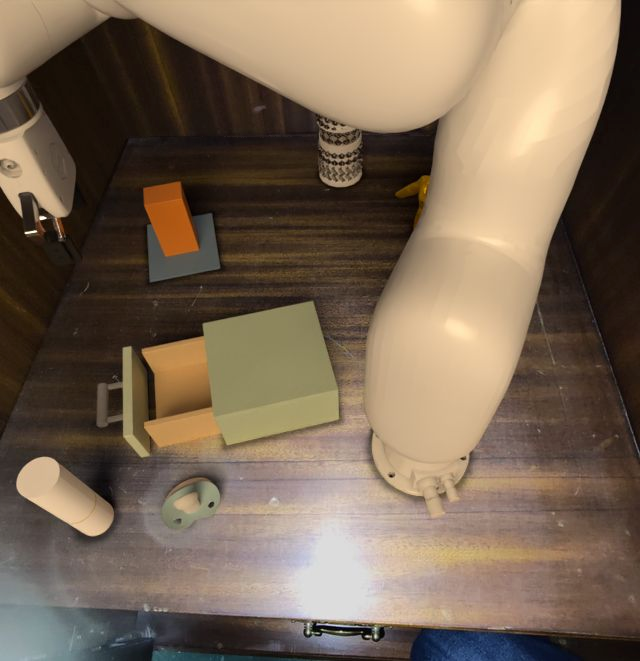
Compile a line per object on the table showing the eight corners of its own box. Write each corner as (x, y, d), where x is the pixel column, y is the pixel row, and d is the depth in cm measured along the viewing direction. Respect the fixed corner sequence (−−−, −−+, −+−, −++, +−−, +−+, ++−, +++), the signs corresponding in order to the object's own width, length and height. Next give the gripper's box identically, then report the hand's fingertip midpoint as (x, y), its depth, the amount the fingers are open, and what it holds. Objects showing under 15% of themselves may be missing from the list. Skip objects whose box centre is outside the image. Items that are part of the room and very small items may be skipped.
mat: (220, 268, 88) (220, 267, 88) (150, 282, 87) (149, 280, 87) (212, 214, 96) (211, 212, 96) (147, 226, 95) (146, 224, 95)
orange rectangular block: (199, 250, 91) (182, 198, 81) (165, 257, 90) (143, 205, 80) (197, 233, 93) (180, 181, 84) (164, 239, 92) (143, 187, 83)
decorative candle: (372, 167, 102) (379, 35, 82) (349, 194, 98) (349, 62, 78) (333, 153, 105) (329, 23, 85) (308, 179, 101) (298, 48, 81)
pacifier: (158, 496, 66) (172, 539, 63) (142, 478, 61) (156, 524, 58) (212, 470, 68) (228, 511, 65) (200, 450, 63) (217, 493, 60)
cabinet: (227, 445, 70) (213, 417, 63) (215, 356, 78) (202, 323, 71) (339, 419, 71) (338, 389, 64) (316, 335, 79) (313, 300, 72)
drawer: (109, 465, 68) (87, 444, 62) (110, 379, 75) (91, 354, 70) (249, 433, 70) (240, 410, 64) (236, 352, 77) (227, 325, 72)
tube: (116, 500, 66) (64, 455, 54) (110, 535, 64) (53, 497, 51) (83, 501, 66) (23, 457, 54) (75, 536, 64) (10, 499, 51)
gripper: (24, 151, 45) (100, 280, 59) (45, 54, 55) (106, 184, 69) (-66, 165, 44) (33, 292, 58) (-28, 65, 54) (49, 194, 68)
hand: (72, 234), depth 64 cm, fingers open, 9 cm apart
